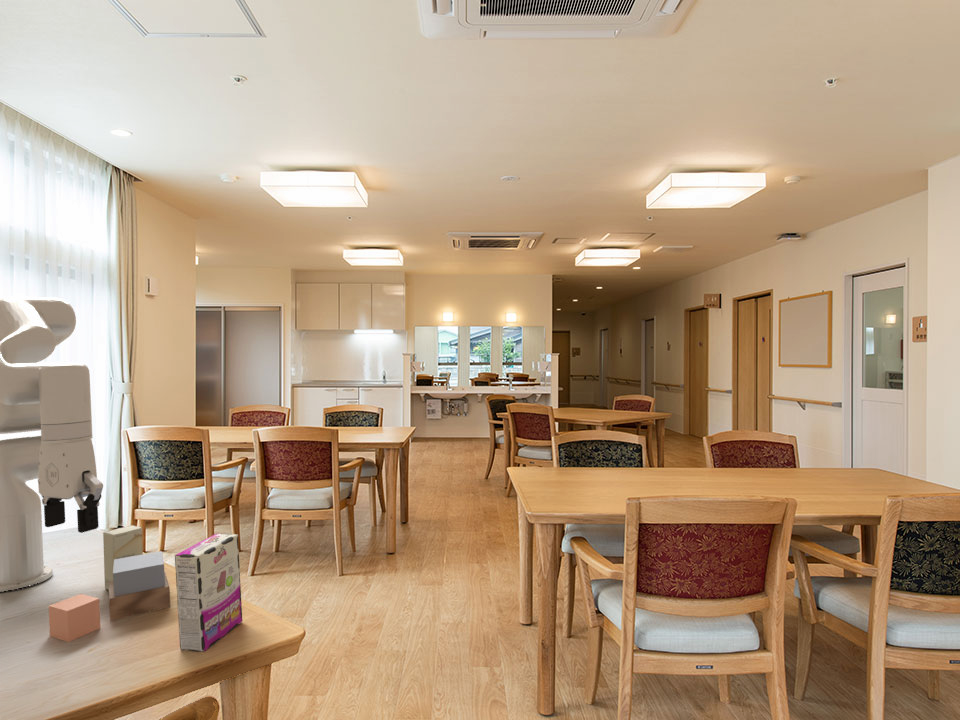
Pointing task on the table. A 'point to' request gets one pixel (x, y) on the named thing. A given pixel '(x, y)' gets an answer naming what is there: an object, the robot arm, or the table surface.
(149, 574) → the slate grey top block
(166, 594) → the walnut base block
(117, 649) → the table surface
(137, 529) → the skincare box
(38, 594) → the table surface
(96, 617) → the terracotta cube
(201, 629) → the candy bar box
